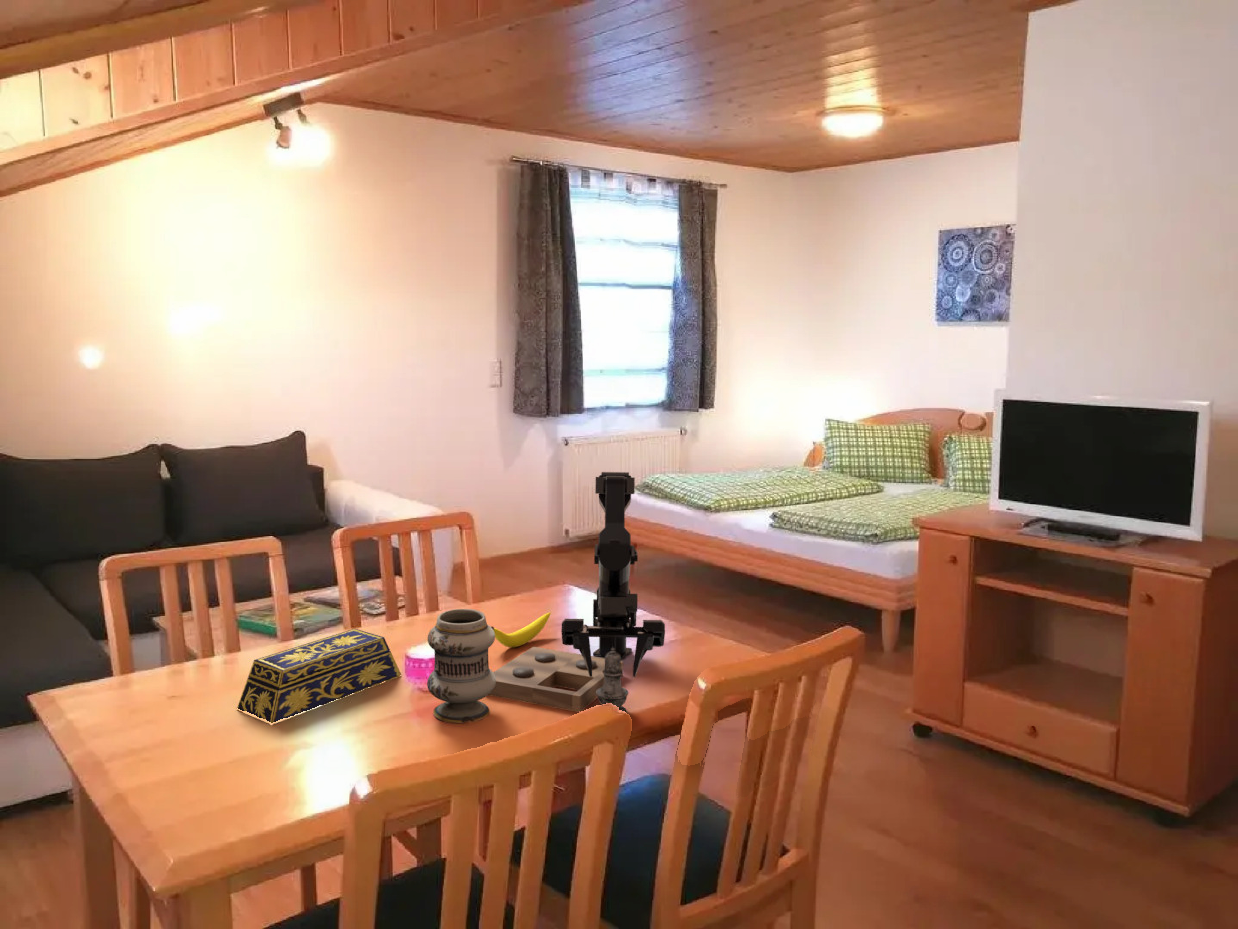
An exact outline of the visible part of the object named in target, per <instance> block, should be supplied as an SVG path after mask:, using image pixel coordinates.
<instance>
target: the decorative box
mask: <svg viewBox="0 0 1238 929" xmlns="http://www.w3.org/2000/svg"><path fill="white" fill-rule="evenodd" d="M400 675H402V672H401V671H400V669H399V667H398V665H397V662H396V660H395V658H394V655H393V654H392V651H391V649H390V647H389V645H388V643H387V640H386V638H385V636H381V635H377V634H375V633H371V632H367V631H365V630H361V629H358V628H353V629H349V630H347V631H343V632H339V633H336V634H333V635H330V636H326V637H324V638H320V639H316V640H313V641H310V642H308V643H305V644H301V645H297V646H295V647H291V648H289V649H286V650H282V651H279V652H276V653H272V654H269V655H266V656H263V657H260V658H256V659H254V660H253V662H252V665H251V667H250V671H249V674H248V676H247V680H246V682H245V684H244V686H243V690H242V693H241V696H240V699H239V702H238V704H237V707H236V709H237V708H238V709H240V710H242V711H247V712H249V713H251V714H254V715H256V716H257V717H259V718H263V719H266V720H267V721H269V722H271V723H273V722H276V721H278V720H280V719H283V718H288V717H290V716H294V715H295V714H298V713H301V712H303V711H307V710H310V709H312V708H315V707H317V706H319V705H324V704H327V703H329V702H331V701H334V700H336V699H340V698H343V697H345V696H348V695H350V694H352V693H356V694H358V693H357V692H359V691H361V690H363V689H366V688H368V687H372V686H374V687H376V686H375V685H377V686H379V685H378V684H380V683H382V682H384V681H388V682H389V680H390V681H392V680H391V679H393V680H395V679H397V678H396V677H398V678H400V677H399V676H400ZM394 678H395V679H394ZM382 684H383V683H382ZM380 685H381V684H380ZM372 688H373V687H372ZM366 690H367V689H366ZM361 692H362V691H361ZM359 693H360V692H359ZM348 697H349V696H348ZM345 698H346V697H345ZM343 699H344V698H343ZM340 700H341V699H340ZM327 705H328V704H327ZM324 706H325V705H324Z"/></svg>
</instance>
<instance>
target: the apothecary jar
mask: <svg viewBox="0 0 1238 929" xmlns="http://www.w3.org/2000/svg"><path fill="white" fill-rule="evenodd" d="M487 622H488V621H487V618H486V615H485V613H484V612H482V611H480V610H477V609H472V608H455V609H449V610H445V611H444V612H443V611H442V612H441V613H440V614H438V615H437V619H436V623H435V625H434V626H433V627H432V628H431V629H430V630H429V633H428V634H427V643H428V645H429V647H430V648H431V649H432V650H433V651H434V665H433V666H434V668H433V671H431V673H430V674H429V676H428V677H427V678H428V679H427V682H426V684H427V689H428V691H429V693H430V694H431V695H432V696H433V697H435V698H436V699H438V700H440V701H443V702H442V703H440V704H439V705H437V706H436V707H434V710H433V716H434V717H435V718H436V719H437V720H439V721H442V722H445V723H450V724H464V723H467V722H477V721H481V720H483V719H485V718H486V717H488V715H489V714H490V708H489V706H488V705H487V704H485V702H482V701H481V700H482V699H484V698H486V697H487V696H490V695H489V694H490V693H491V692H492V690H493V689H494V687H495V684H496V678H495V675H494V673H493V672H494V671H493V670H491V669H490V667H489V648H490V647H492V646H493V644H494V642H495V640H496V638H495V633H494V631H493V629H492V628H491V625H489V624H488V623H487Z"/></svg>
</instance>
